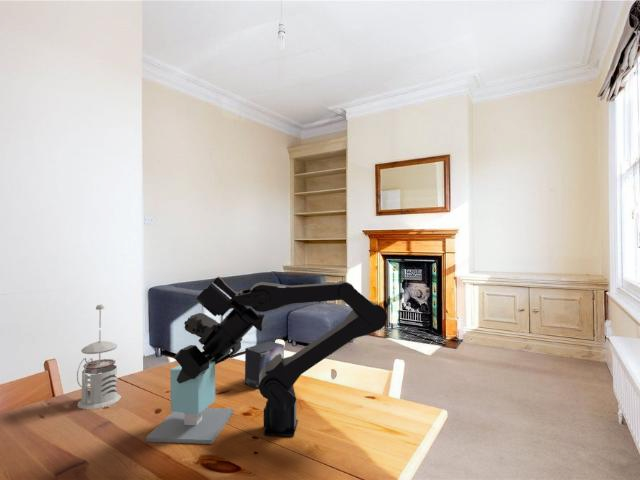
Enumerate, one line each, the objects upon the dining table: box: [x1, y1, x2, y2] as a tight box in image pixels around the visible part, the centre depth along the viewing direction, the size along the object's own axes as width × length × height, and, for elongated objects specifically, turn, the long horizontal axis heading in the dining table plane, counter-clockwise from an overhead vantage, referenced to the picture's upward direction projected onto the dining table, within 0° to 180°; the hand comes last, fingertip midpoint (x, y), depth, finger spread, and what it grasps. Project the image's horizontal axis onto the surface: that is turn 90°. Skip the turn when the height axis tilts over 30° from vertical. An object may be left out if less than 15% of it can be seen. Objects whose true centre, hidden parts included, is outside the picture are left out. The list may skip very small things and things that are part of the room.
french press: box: [76, 304, 122, 410], centre depth 93 cm, size 10×12×25 cm
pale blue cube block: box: [170, 361, 216, 414], centre depth 81 cm, size 7×7×9 cm
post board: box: [145, 407, 235, 445], centre depth 81 cm, size 14×14×4 cm
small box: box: [244, 340, 285, 389], centre depth 107 cm, size 11×6×10 cm, turn 143°
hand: (188, 375), depth 81 cm, fingers closed on pale blue cube block, 7 cm apart
